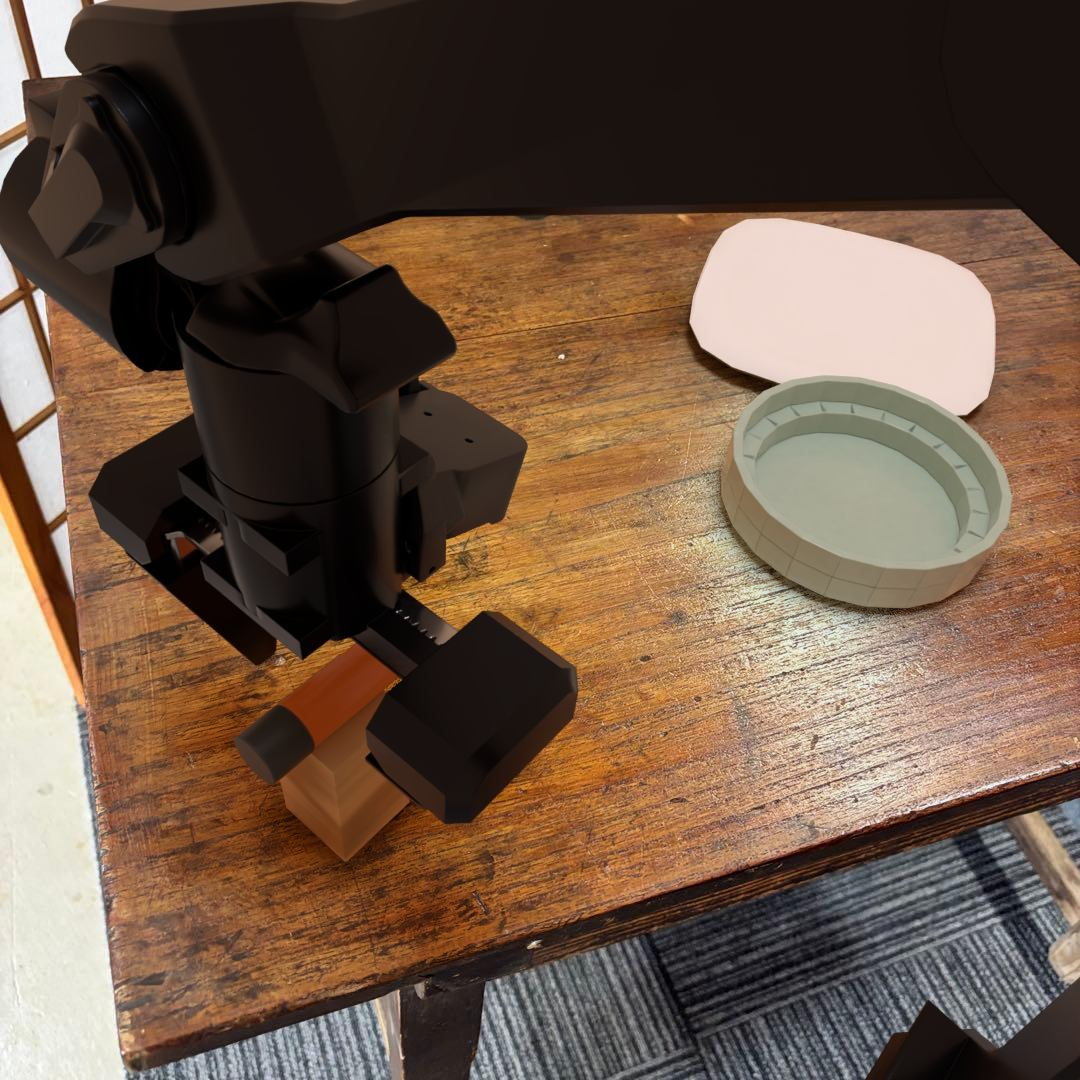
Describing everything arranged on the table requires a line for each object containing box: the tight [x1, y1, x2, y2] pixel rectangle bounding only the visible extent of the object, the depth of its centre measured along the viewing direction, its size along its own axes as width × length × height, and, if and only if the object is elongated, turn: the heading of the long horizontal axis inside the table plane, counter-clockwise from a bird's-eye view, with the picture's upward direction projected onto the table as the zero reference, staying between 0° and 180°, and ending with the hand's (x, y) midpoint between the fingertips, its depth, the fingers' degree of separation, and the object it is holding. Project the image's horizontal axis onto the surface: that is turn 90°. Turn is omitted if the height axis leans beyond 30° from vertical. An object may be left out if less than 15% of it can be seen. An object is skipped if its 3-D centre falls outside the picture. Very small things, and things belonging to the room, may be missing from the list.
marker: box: [233, 642, 399, 786], centre depth 40 cm, size 8×2×2 cm, turn 140°
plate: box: [688, 217, 997, 418], centre depth 75 cm, size 22×22×2 cm
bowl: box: [720, 375, 1013, 609], centre depth 61 cm, size 16×16×4 cm
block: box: [275, 654, 410, 863], centre depth 44 cm, size 4×4×8 cm
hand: (338, 720), depth 41 cm, fingers open, 9 cm apart
